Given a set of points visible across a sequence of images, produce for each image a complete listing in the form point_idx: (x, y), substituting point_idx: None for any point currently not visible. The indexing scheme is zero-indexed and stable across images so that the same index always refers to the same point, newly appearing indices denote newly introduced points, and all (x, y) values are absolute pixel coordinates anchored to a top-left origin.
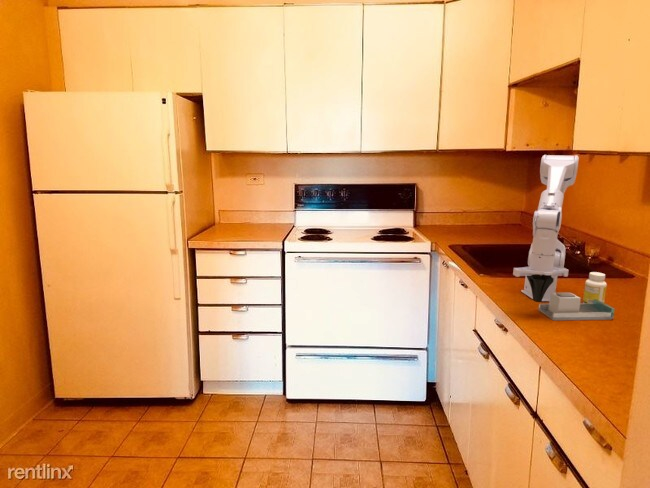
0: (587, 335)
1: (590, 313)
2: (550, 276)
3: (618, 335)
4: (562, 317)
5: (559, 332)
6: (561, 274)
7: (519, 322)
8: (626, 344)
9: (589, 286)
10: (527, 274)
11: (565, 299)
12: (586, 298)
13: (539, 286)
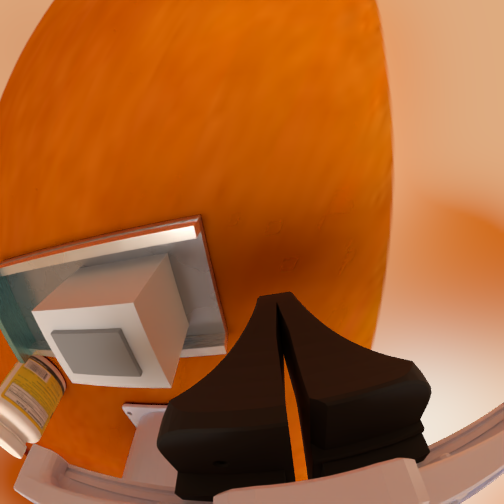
0: (116, 60)
1: (36, 258)
2: (186, 479)
3: (19, 108)
4: (150, 228)
5: (231, 61)
6: (74, 476)
7: (382, 170)
8: (38, 37)
9: (27, 414)
10: (465, 440)
11: (101, 301)
12: (49, 386)
13: (329, 352)
